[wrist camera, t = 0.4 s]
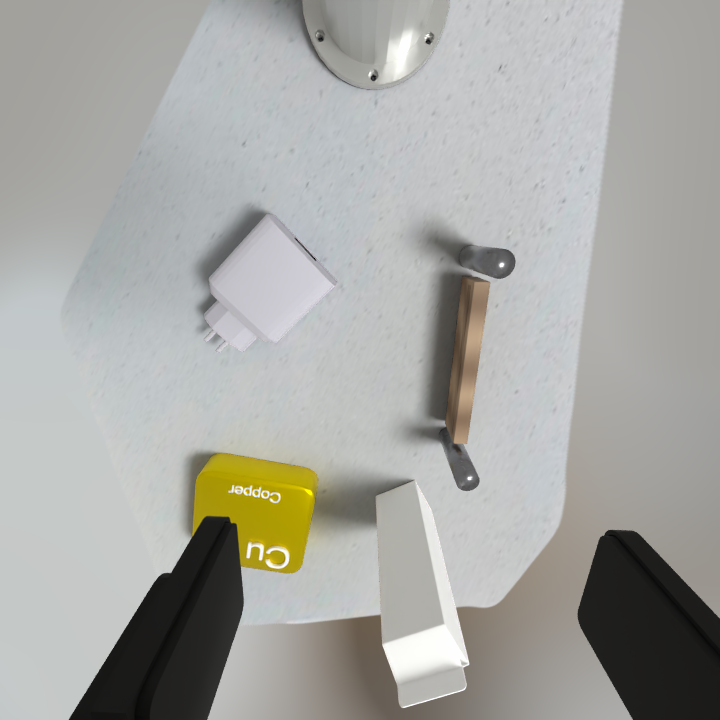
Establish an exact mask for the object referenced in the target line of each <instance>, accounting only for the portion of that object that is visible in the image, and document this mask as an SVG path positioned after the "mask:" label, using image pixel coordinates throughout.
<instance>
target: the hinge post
mask: <svg viewBox="0 0 720 720" xmlns="http://www.w3.org/2000/svg"><path fill="white" fill-rule="evenodd" d="M459 260H460V263H461V265H462V266H463V267H465V268H468V269H470V270H473V271H476V272H479V273H482V274H485V275H488V276H491V277H493V278H497V279H501V278H505V277H507V276H508V275H509V274H510V273H511V272H512V271H513V269H514V267H515V257H514V255H513V253H512V252H510V251H509V250H506V249H499V248H491V247H482V246H474V245H470V246H467V247H465V248H464V249H463V250H462V251H461V253H460V256H459Z"/></svg>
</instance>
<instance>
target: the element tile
mask: <svg viewBox="0 0 720 720" xmlns="http://www.w3.org/2000/svg"><path fill="white" fill-rule="evenodd" d="M317 488H318V477H317V474H316V473H315V472H314V471H312V470H311V469H309V468H305V467H300V466H295V465H289V464H283V463H278V462H272V461H266V460H261V459H255V458H249V457H244V456H238V455H233V454H227V453H218V454H214V455H213V456H211V457H210V459H209V460H208V462H207V463H206V465H205V466H204V468H203V469H202V470H201V472H200V473H199V475H198V476H197V478H196V482H195V498H194V515H193V532H192V537H193V535H194V533H195V532H196V530H197V528H198V527H199V525H200V523H201V522H202V520H203V519H204V517H206V516H223V517H229V518H230V521H231V523H236V524H237V531H238V542H239V553H240V564H241V566H242V567H248V568H254V569H261V570H267V571H273V572H280V573H295V572H296V571H298V570H299V569H300V568H301V566H302V564H303V559H304V554H305V549H306V544H307V539H308V534H309V529H310V524H311V520H312V515H313V510H314V505H315V499H316V494H317Z"/></svg>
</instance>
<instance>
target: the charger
mask: <svg viewBox="0 0 720 720" xmlns="http://www.w3.org/2000/svg"><path fill="white" fill-rule="evenodd" d="M294 238H297V237H296V236H295V235H294V234H293V233H292V232H291V231H290V230H289V229H288V228H287V227H286V226H285V225H284V224H283V223H282V222H281V220H279V219H278V218H277V217H276V216H275V215H271V214H266V215H265V216H264V217H263V219H262V220H261V221H260V222H259V223H258V224H257V225H256V226H255V227H254V229H253V230H252V231H251V232H250V233H249V234H248V235H247V236H246V237H245V238H244V240H243V241H242V242H241V243H240V244H239V245H238V246H237V247H236V248H235V250H234V251H233V252H232V253H231V254H230V255H229V256H228V257H227V258H226V259H225V261H224V262H223V263H222V264H221V265H220V266H219V267H218V268H217V269H216V271H215V272H214V273H213V274H212V275H211V276H210V277H209V286H210V292H211V294H212V295H213V296H214V297H215V298H216V299H217V301H216V302H215V303H214V304H213V305H212V306H211V307H210V308H209V309H208V310H207V311H206V313H205V314H204V318H205V320H206V321H207V323H208V324H209V326H210V327H211V328H212V329H213V330H212V331H211V332H210V333H209V334H208V335H207V336H206V337H205V338H204V341H205V342H208V341H209V340H210V339H211V338H212V337H213V336H214V335H215V334H216V333H217V334H218V335H219V336H221V337H222V338H223V339H224V340H225V341H224V342H223V343H222V344H221V345H220V346H219V347H218V348H217V349H216V351H217V352H218V353H220V352H221V351H222V350H223V349H224V348H225V347H226V346H227V345H228V344H230V345H231V346H233V347H235V348H237V349H238V350H240V351H245V350H246V349H247V348H248V347H249V346H250V345H251V344H252V343H253V342H254V341H255V340H256V339H257V338H259V339H260V340H261V341H263V342H278V341H279V340H280V339H281V338H282V337H283V336H284V335H285V334H286V333H287V332H288V331H289V330H290V329H291V328H292V327H293V326H294V325H295V324H296V323H297V322H299V321H300V320H301V319H302V318H303V317H304V316H305V315H306V314H307V313H308V312H309V311H310V310H311V309H312V308H313V307H314V306H315V305H316V304H317V303H318V302H319V301H320V300H321V299H322V298H323V297H324V296H325V295H326V294H327V293H328V292H329V291H331V290H332V289H333V288H334V287H335V285H336V284H337V281H336V279H335V278H334V277H333V276H332V275H331V274H330V272H329V271H328V270H327V269H326V268H325V267H324V266H323V265H322V264H321V263H320V262H319V261H318V260H317V259H316V258H315V256H314V255H313V254H312V253H311V252H310V251H309V250H308V249H307V248H306V247H305V246H304V245H303V244H302V243H301V242H300V241H299V239H298V238H297V240H298V241H299V242H300V243H301V244H302V245H303V246H304V247H305V248H306V249H307V250H308V251H309V252H310V253H311V254H312V255H313V257H314V258H315V259H316V260H317V261H315V260H314V259H313V258H312V257H311V256H310V255H309V254H308V253H307V252H306V251H305V250H304V248H303V247H302V246H301V245H300V244H299V243H298V242H297V241H296V240H295V239H294Z"/></svg>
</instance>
